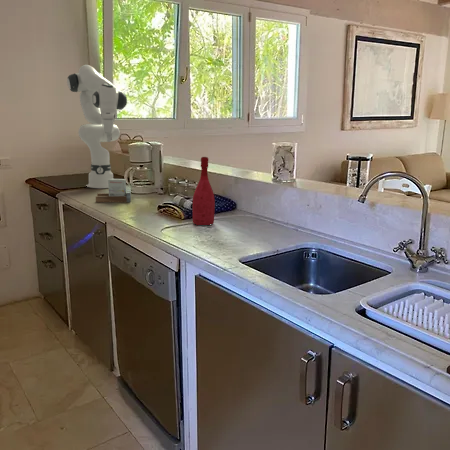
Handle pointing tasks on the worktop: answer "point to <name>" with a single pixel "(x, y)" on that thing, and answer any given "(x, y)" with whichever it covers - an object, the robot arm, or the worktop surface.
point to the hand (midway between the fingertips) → (109, 141)
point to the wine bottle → (203, 198)
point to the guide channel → (113, 197)
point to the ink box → (117, 187)
